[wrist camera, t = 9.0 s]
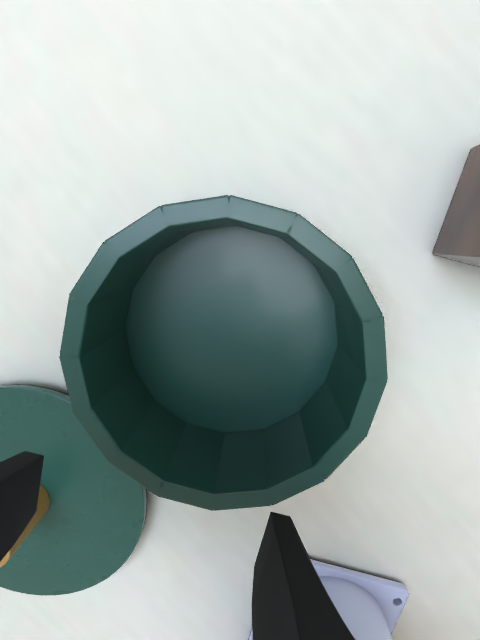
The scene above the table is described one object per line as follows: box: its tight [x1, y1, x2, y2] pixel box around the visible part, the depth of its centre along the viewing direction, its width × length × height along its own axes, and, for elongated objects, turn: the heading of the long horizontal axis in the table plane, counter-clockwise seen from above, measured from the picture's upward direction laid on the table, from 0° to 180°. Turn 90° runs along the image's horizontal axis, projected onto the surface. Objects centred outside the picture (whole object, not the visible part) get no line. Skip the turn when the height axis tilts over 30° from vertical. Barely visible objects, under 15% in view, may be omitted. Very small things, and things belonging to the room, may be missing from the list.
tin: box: [60, 195, 388, 511], centre depth 16 cm, size 12×12×5 cm
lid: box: [0, 385, 147, 595], centre depth 19 cm, size 13×13×4 cm
